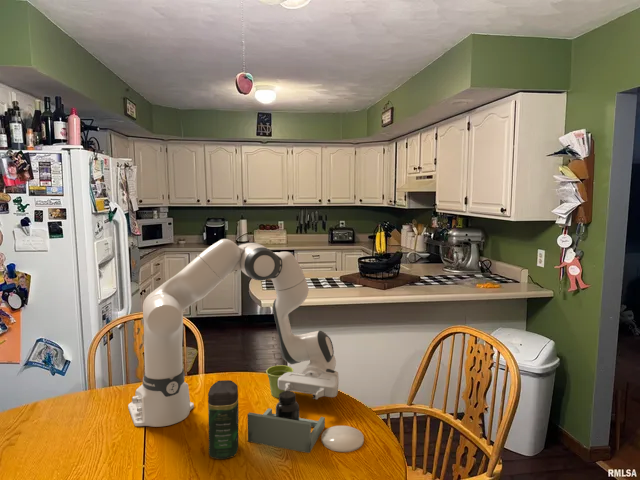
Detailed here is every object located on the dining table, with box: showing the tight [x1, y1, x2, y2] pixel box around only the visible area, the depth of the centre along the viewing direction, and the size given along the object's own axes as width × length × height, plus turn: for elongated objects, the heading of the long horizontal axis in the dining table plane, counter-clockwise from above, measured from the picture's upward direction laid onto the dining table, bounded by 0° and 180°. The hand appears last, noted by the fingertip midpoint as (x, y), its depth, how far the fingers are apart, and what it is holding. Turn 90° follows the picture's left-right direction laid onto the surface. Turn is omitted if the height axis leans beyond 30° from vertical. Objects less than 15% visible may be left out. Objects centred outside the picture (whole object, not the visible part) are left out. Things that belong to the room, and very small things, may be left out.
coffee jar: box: [207, 379, 240, 460], centre depth 119 cm, size 10×8×19 cm
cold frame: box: [247, 407, 326, 454], centre depth 128 cm, size 14×18×8 cm
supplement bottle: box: [275, 391, 300, 421], centre depth 128 cm, size 7×7×12 cm
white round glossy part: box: [320, 425, 365, 453], centre depth 126 cm, size 12×12×1 cm
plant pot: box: [265, 364, 294, 399], centre depth 154 cm, size 9×9×9 cm
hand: (300, 394), depth 139 cm, fingers open, 8 cm apart
